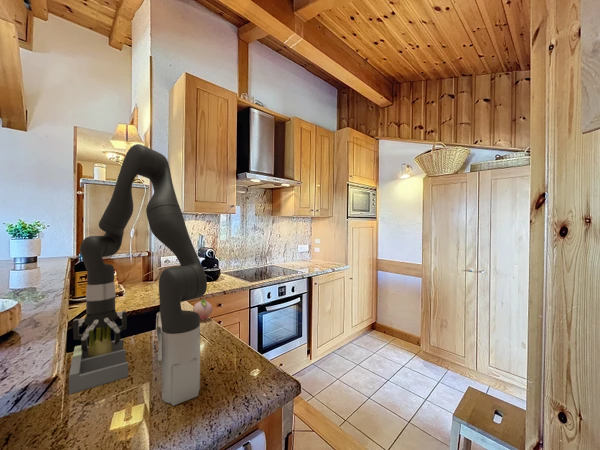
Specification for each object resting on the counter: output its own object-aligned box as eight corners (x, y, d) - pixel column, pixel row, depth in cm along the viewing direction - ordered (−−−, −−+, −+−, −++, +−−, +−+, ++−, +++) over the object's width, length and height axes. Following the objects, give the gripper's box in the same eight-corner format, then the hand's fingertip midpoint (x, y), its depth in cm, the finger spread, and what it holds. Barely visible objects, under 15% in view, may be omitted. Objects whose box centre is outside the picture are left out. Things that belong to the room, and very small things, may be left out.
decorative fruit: (190, 319, 123) (190, 298, 123) (208, 315, 127) (208, 295, 128) (196, 325, 115) (196, 302, 115) (214, 321, 120) (214, 299, 120)
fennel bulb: (86, 368, 80) (87, 330, 80) (92, 361, 84) (92, 324, 84) (109, 364, 82) (109, 327, 82) (113, 357, 87) (113, 321, 87)
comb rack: (128, 376, 75) (128, 358, 75) (68, 394, 67) (68, 373, 67) (123, 349, 92) (123, 334, 92) (75, 361, 84) (75, 345, 84)
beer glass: (155, 364, 82) (155, 317, 82) (156, 354, 88) (156, 311, 88) (179, 359, 85) (179, 313, 86) (178, 350, 92) (178, 308, 92)
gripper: (70, 303, 77) (71, 358, 77) (128, 295, 85) (128, 344, 85) (72, 298, 83) (73, 349, 82) (126, 290, 91) (126, 337, 91)
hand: (101, 347), depth 84 cm, fingers open, 7 cm apart
